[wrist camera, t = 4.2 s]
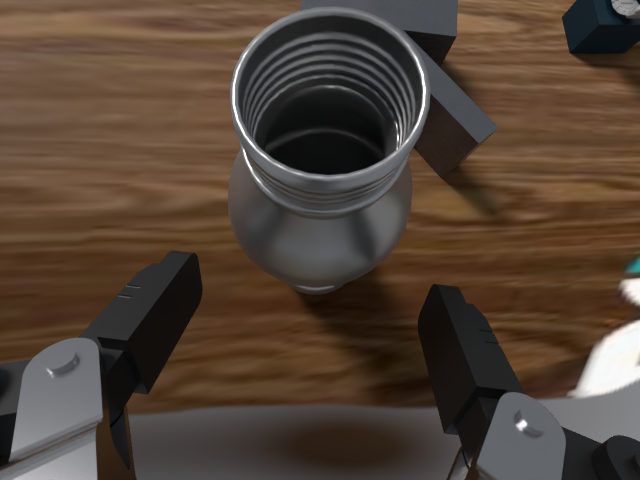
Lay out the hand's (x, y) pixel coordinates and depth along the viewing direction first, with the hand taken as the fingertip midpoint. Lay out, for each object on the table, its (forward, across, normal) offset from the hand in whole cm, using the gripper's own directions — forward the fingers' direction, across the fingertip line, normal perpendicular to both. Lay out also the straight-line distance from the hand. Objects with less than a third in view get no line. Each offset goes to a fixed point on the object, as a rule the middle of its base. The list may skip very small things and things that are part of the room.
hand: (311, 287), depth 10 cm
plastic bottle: (+12, 0, +8) cm, 15 cm away
